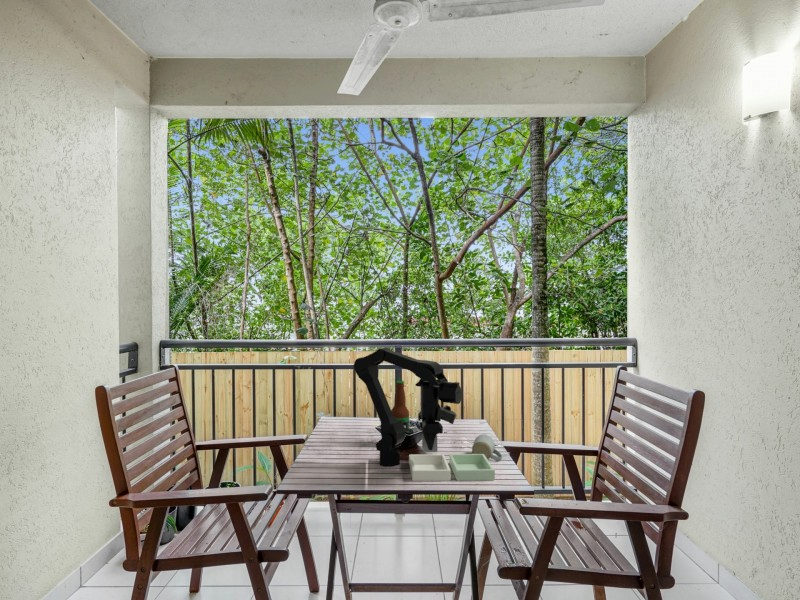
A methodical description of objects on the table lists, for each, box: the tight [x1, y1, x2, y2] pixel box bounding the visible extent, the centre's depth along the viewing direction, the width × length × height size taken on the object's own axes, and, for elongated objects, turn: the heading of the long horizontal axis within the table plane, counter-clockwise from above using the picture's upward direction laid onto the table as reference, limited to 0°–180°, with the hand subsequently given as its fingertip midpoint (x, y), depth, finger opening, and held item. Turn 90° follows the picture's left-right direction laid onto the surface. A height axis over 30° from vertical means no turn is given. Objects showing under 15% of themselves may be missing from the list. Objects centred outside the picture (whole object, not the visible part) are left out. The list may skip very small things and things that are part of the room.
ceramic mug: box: [471, 434, 503, 462], centre depth 186 cm, size 11×8×8 cm
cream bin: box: [408, 453, 452, 482], centre depth 170 cm, size 12×16×4 cm
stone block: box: [421, 432, 438, 453], centre depth 170 cm, size 4×4×5 cm
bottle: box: [391, 380, 410, 431], centre depth 201 cm, size 7×7×25 cm
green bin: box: [448, 453, 496, 482], centre depth 171 cm, size 12×16×4 cm
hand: (429, 447), depth 170 cm, fingers closed on stone block, 4 cm apart
